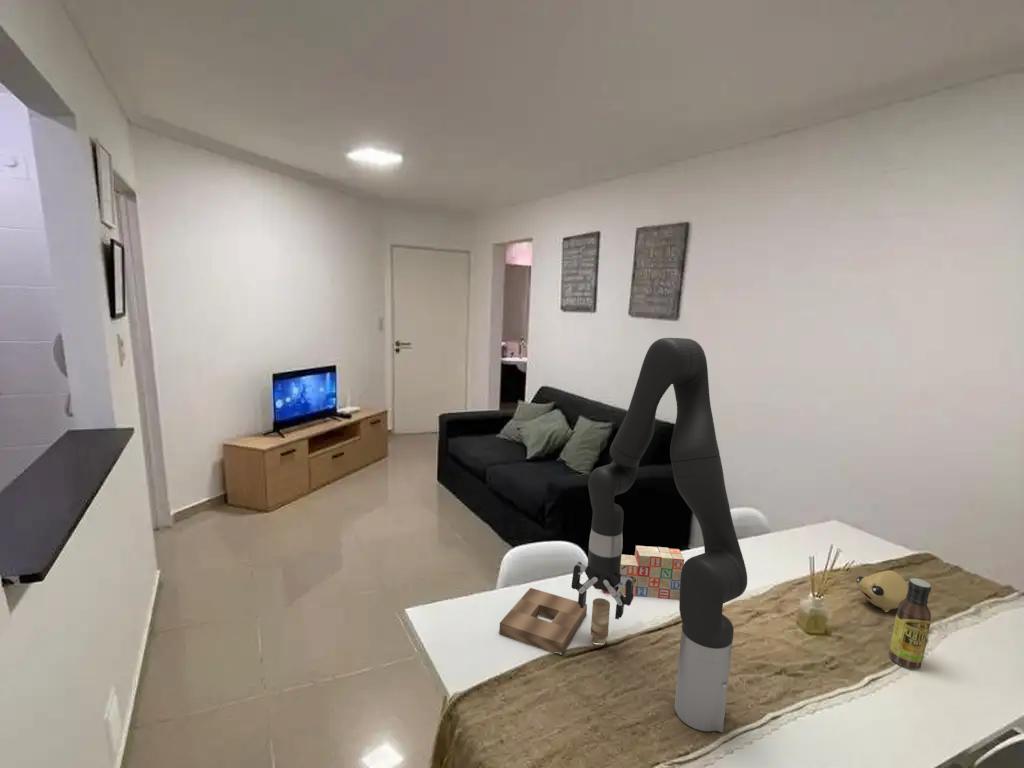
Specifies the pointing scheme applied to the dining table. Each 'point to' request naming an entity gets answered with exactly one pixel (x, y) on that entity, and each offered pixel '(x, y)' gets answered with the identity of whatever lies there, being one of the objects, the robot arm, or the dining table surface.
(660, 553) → the stack of blocks
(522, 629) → the board
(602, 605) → the peg
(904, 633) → the sauce bottle
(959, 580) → the dining table surface
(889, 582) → the tan toy head
